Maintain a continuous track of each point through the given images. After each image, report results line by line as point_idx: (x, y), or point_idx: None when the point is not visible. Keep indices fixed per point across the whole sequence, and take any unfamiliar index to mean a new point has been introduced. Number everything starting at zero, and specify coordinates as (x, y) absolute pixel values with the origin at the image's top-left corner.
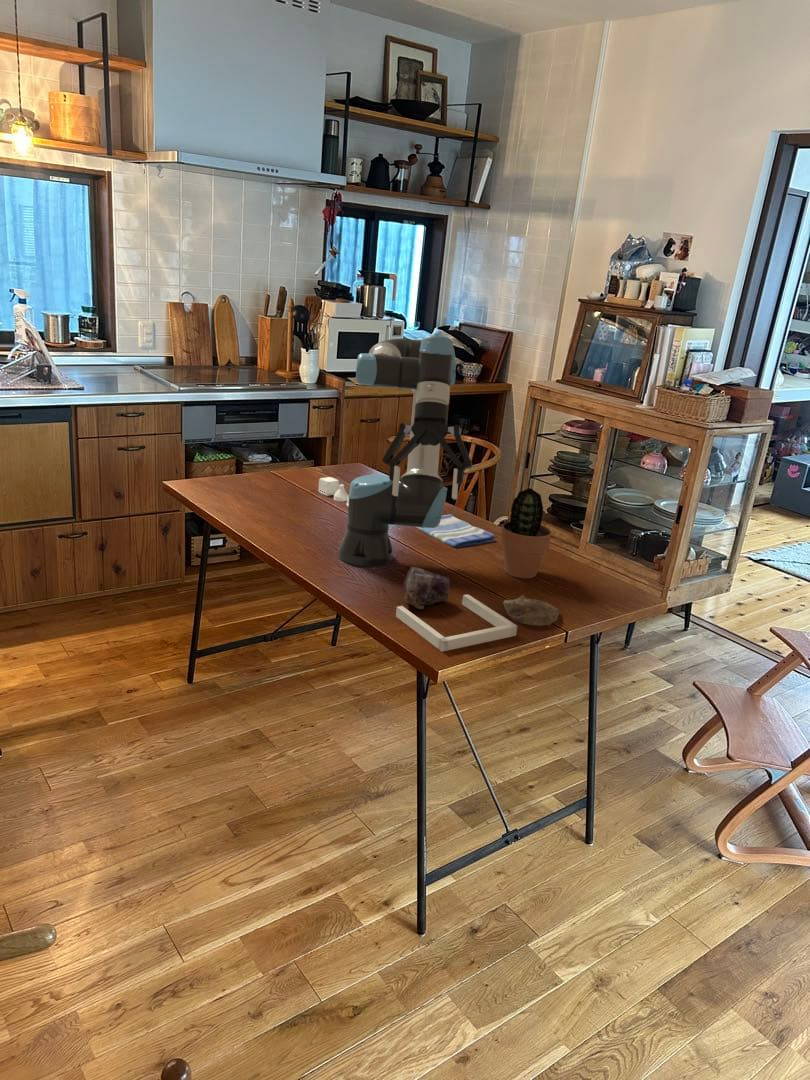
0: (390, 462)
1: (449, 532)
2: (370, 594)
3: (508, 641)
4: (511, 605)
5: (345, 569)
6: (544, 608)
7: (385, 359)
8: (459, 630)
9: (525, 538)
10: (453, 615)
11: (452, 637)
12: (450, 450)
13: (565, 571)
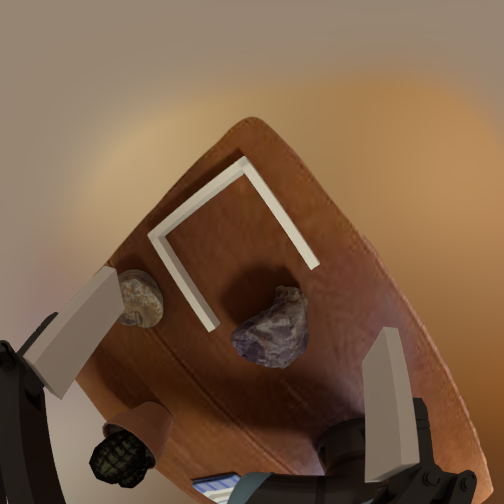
0: (440, 477)
1: None
2: (358, 333)
3: (164, 214)
4: (149, 287)
5: None
6: None
7: None
8: (223, 233)
9: (125, 425)
10: (232, 283)
11: (231, 172)
12: (4, 460)
13: None
